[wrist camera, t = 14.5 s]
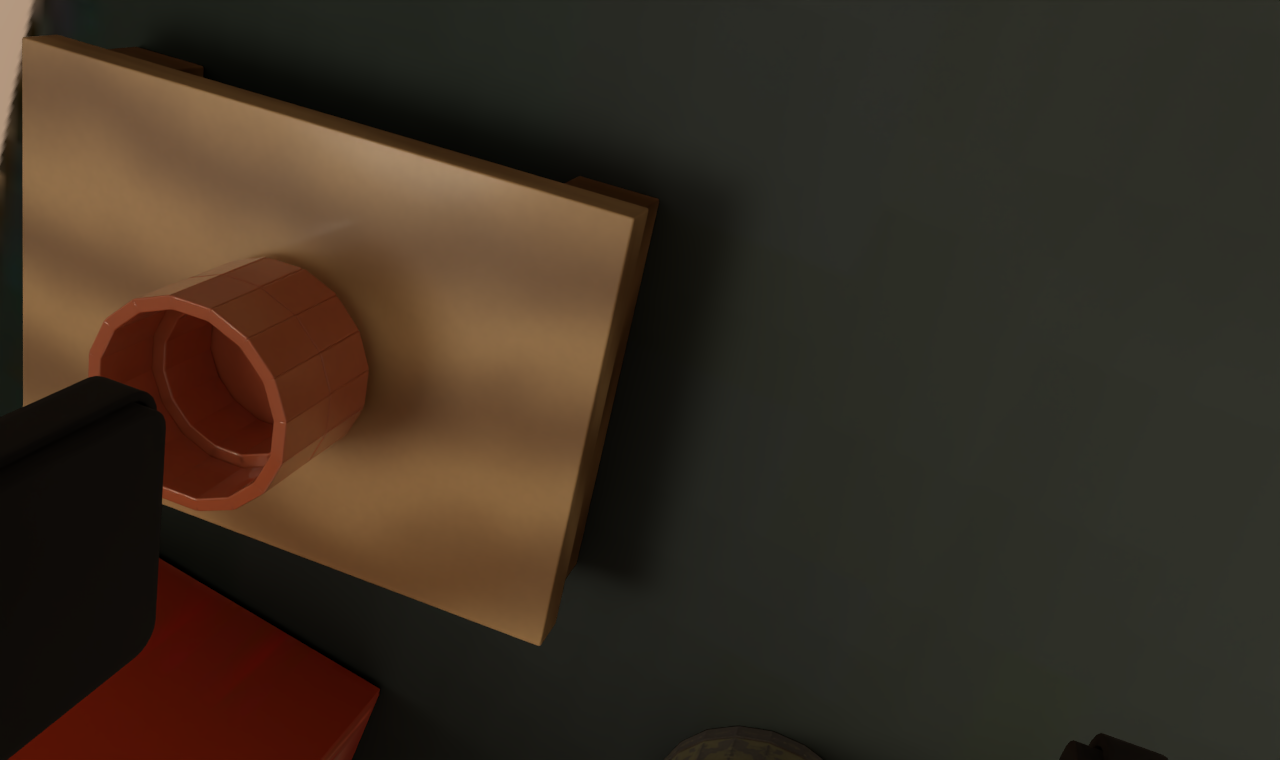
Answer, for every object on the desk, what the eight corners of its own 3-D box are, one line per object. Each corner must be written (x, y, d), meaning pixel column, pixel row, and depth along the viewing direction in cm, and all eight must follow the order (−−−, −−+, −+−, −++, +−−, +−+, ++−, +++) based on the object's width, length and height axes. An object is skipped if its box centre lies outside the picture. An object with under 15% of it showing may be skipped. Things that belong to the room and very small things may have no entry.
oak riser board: (125, 29, 42) (21, 36, 38) (677, 188, 38) (634, 218, 34) (112, 407, 49) (22, 451, 44) (586, 578, 45) (539, 647, 40)
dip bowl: (207, 229, 38) (89, 267, 33) (389, 287, 37) (295, 336, 32) (195, 409, 41) (85, 469, 36) (364, 469, 40) (274, 540, 35)
